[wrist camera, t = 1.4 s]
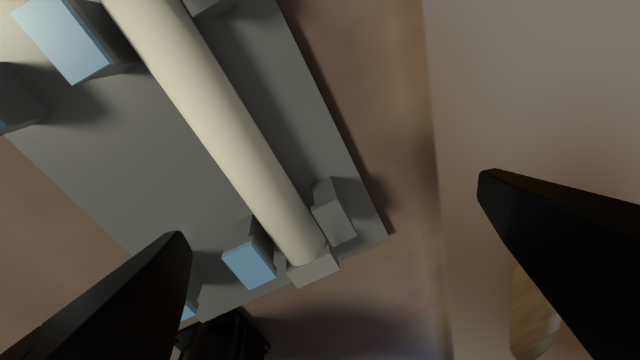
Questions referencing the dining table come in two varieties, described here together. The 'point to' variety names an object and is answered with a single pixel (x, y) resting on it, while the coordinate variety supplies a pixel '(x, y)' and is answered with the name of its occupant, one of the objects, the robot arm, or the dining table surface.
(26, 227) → the dining table surface
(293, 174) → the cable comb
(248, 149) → the cream cylindrical rod
